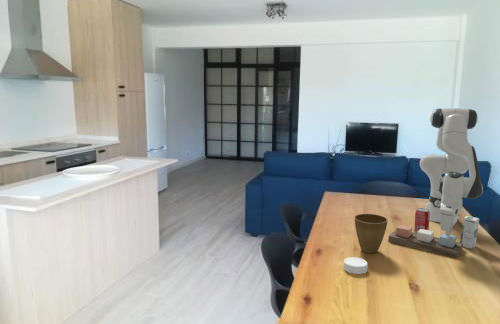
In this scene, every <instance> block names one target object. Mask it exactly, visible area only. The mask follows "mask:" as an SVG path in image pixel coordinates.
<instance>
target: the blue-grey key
mask: <svg viewBox="0 0 500 324" xmlns="http://www.w3.org/2000/svg"><path fill="white" fill-rule="evenodd" d="M439 238H440V239H439V245H442V246H447V247H451V248H453V247H454V246H455V244H456V242H457V236H456V235H453V234H451V235H450V236H446V233H441V235H440V236H439Z"/></svg>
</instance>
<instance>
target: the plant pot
mask: <svg viewBox="0 0 500 324" xmlns="http://www.w3.org/2000/svg"><path fill="white" fill-rule="evenodd" d="M354 225H355V231H356V237H357V240H358V243H359V247H360V250H361V251H362V252H364V253H367V254H376V253H377V252H378V251H379V249H380V247H381V244H382V243H383V240H384V236H385V234H386V230H387V227H388V226H387V225H388V218H387V217H386V216H383V215H380V214H375V213H359V214H356V215H355V216H354Z"/></svg>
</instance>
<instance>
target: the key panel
mask: <svg viewBox="0 0 500 324" xmlns="http://www.w3.org/2000/svg"><path fill="white" fill-rule="evenodd" d="M439 239H440V237H435V236H433V240H432V241H431V242H430V243H429V242H424V241H420V240H417V233H416V232H414V231H412V235H411V236H410V237H409V238H407V237H402V236H398V235H396V229H395V230H394V231H393V232H391V233H390V234H389V235H388V240H387V242H389V243H394V244H397V245H401V246H405V247H410V248H414V249H417V250H422V251H427V252H430V253H435V254H439V255H443V256H447V257H451V258H455V259H456V258H458V257H459V255H460V253H461V252H462V250H463V247H462V246H463V243H460V241H459V242H458V241H456V244H455V246H454V247H453V248H451V247H447V246H442V245H439Z"/></svg>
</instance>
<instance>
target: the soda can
mask: <svg viewBox="0 0 500 324" xmlns="http://www.w3.org/2000/svg"><path fill="white" fill-rule="evenodd" d="M430 221H431V220H430V212H429V210H428V209H426V207H425V208H424V207H418V208H416V210H415V213H414V226H413V227H414V228H413V232H414V233H417V232H418V231H419V230H420V229H424V230H429V231H430Z"/></svg>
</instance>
